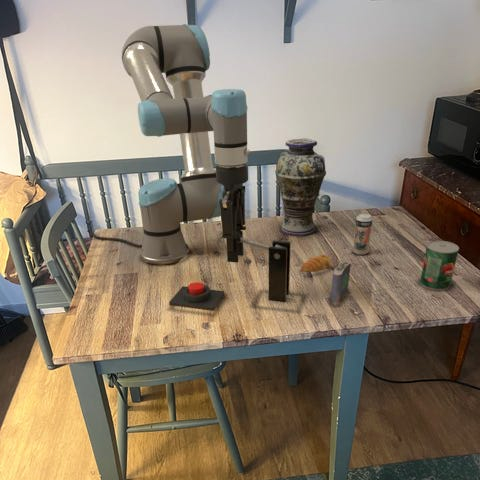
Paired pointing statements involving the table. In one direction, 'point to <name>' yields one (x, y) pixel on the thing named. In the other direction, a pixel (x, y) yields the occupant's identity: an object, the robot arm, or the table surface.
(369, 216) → the spice shaker
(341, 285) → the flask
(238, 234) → the switch lever
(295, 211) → the vase
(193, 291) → the stop button
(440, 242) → the canned tomato
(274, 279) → the switch bracket
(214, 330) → the table surface
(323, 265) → the pastry
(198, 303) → the stop box
